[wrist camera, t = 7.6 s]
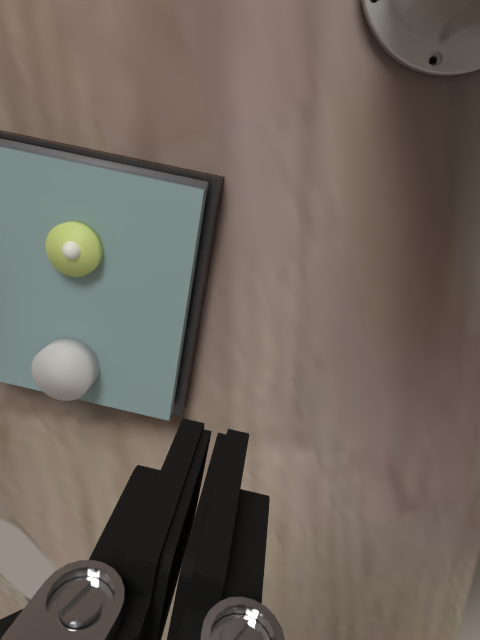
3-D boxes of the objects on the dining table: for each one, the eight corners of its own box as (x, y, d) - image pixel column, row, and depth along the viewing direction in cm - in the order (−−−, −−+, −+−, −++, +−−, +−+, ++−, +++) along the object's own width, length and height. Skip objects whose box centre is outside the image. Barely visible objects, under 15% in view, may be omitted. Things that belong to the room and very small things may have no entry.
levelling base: (-12, 127, 35) (-29, 127, 34) (224, 176, 35) (220, 178, 33) (-6, 361, 43) (-20, 371, 41) (186, 405, 43) (181, 417, 41)
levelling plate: (-22, 132, 33) (-59, 131, 30) (209, 181, 33) (199, 185, 29) (-15, 366, 41) (-43, 386, 37) (173, 409, 40) (162, 434, 37)
